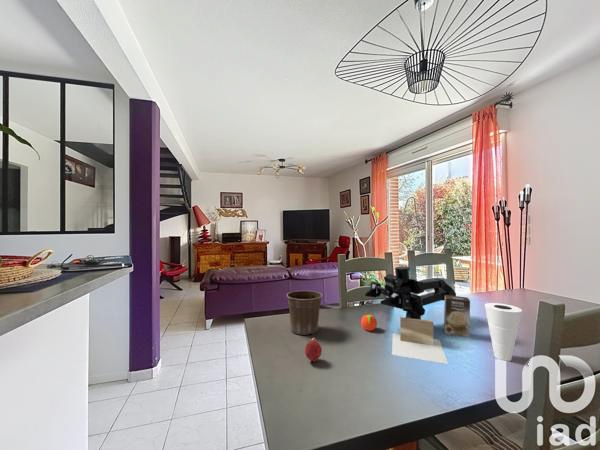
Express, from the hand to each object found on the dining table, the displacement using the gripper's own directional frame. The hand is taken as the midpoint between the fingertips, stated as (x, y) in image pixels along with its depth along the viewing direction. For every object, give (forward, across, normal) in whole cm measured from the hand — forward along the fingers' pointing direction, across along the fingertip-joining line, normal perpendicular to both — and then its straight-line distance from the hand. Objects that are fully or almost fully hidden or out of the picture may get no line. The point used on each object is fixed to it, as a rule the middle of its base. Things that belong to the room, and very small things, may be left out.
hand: (372, 298), depth 112 cm
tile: (-9, +15, +15) cm, 23 cm away
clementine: (-1, -3, +17) cm, 17 cm away
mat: (-6, +18, +15) cm, 24 cm away
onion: (+34, +8, +12) cm, 37 cm away
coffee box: (-32, +18, +18) cm, 40 cm away
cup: (-27, +37, +15) cm, 48 cm away
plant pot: (+24, -18, +16) cm, 34 cm away
